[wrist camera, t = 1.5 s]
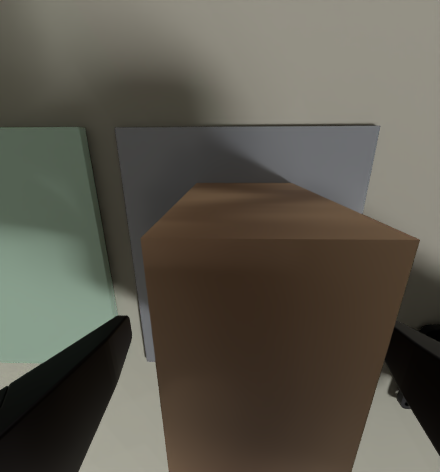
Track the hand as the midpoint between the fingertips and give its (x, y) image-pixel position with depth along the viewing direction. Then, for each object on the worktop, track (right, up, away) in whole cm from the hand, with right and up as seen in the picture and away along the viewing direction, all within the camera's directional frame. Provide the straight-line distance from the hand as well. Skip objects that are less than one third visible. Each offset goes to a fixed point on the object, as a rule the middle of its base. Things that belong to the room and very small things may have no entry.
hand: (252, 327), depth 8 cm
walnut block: (0, +2, +5) cm, 5 cm away
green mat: (-12, +2, +5) cm, 13 cm away
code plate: (0, +2, +5) cm, 5 cm away
